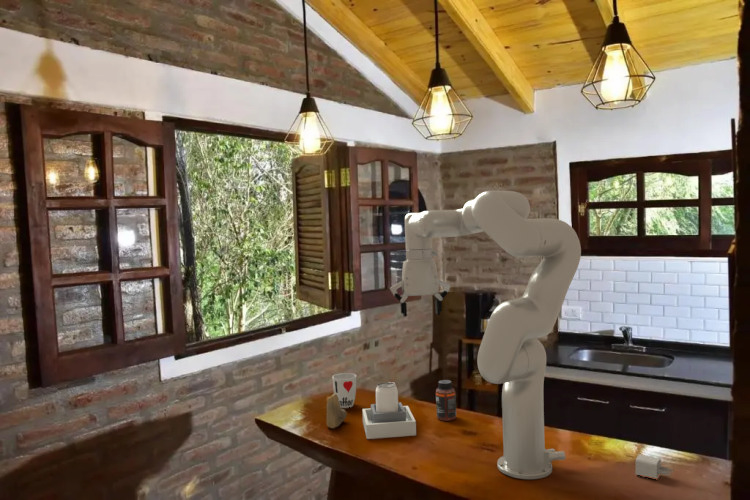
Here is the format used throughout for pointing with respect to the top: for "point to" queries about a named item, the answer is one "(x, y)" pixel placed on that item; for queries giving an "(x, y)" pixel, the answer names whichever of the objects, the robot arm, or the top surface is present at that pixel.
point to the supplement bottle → (445, 401)
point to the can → (386, 397)
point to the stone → (334, 412)
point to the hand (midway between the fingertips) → (421, 315)
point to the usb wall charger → (650, 466)
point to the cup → (345, 388)
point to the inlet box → (388, 423)
